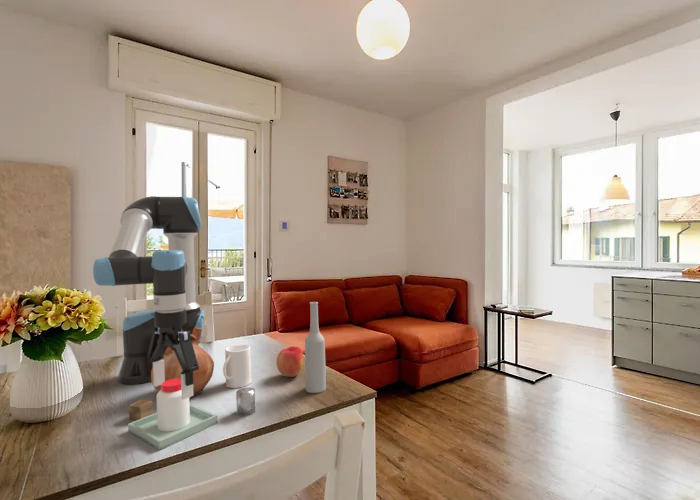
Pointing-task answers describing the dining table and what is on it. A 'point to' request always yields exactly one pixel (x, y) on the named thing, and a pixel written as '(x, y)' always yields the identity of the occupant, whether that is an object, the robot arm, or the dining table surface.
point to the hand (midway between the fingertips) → (172, 390)
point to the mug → (237, 366)
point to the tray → (161, 439)
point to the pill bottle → (172, 407)
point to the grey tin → (245, 401)
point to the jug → (199, 376)
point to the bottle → (315, 355)
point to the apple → (290, 361)
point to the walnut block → (140, 409)
